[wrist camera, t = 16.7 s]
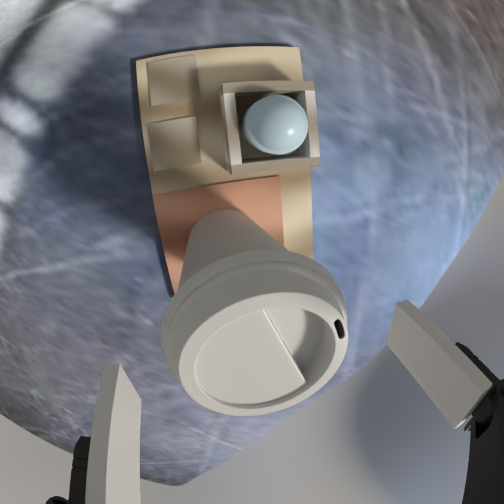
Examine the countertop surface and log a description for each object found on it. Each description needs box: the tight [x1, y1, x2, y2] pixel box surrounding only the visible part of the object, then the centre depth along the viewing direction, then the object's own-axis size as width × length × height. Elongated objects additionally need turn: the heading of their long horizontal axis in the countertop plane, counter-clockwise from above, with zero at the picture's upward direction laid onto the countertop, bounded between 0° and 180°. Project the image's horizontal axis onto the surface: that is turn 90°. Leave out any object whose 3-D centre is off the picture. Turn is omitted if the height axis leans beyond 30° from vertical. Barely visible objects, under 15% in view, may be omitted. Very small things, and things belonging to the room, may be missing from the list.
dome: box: [240, 95, 308, 154], centre depth 19 cm, size 4×4×5 cm
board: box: [136, 46, 320, 294], centre depth 22 cm, size 23×14×4 cm, turn 5°
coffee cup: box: [160, 209, 348, 416], centre depth 18 cm, size 10×10×15 cm
